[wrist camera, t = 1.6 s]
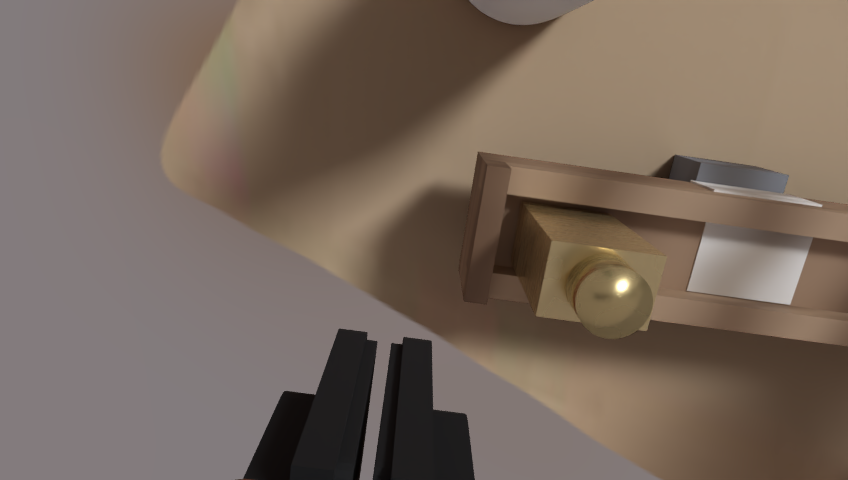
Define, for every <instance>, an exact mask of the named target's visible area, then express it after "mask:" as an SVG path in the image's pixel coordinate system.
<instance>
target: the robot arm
mask: <svg viewBox="0 0 848 480" xmlns="http://www.w3.org/2000/svg"><path fill="white" fill-rule="evenodd" d="M376 348H377V341H372V340H367V332H361V331H353V330H346V329H339V330H338V333H337V335H336V339H335V341H334V344H333V347H332V350H331V353H330V355H329V358H328V361H327V364H326V367H325V370H324V372H323V375H322V378H321V381H320V384H319V387H318V390H317V392H316V395H314V394H305V393H298V392H290V391H284V392H283V394H282V396H281V397H280V400H279V402H278V404H277V406H276V408H275V410H274V413H273V415H272V417H271V419H270V422H269V424H268V426H267V428H266V430H265V432H264V435H263V437H262V439H261V441H260V443H259V446H258V448H257V450H256V452H255V454H254V456H253V458H252V461H251V463H250V465H249V467H248V469H247V472H246V474H245V476H244V478H243V479H238V480H359V478H360V471H361V464H362V456H363V449H364V441H365V434H366V426H367V418H368V411H369V403H370V394H371V388H372V380H373V372H374V364H375V357H376ZM373 480H475V478H474V470H473V462H472V453H471V445H470V436H469V428H468V420H467V415H466V414H463V413H455V412H448V411H439V410H433V386H432V342H431V341H429V340H422V339H415V338H407V337H404V338H403V343H402V344H394V343H392V344H391V351H390V358H389V365H388V373H387V380H386V387H385V394H384V402H383V409H382V417H381V424H380V431H379V438H378V445H377V452H376V460H375V467H374V474H373Z"/></svg>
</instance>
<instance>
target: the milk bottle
mask: <svg viewBox="0 0 848 480" xmlns="http://www.w3.org/2000/svg"><path fill="white" fill-rule="evenodd" d="M469 1H470V2H471V3H472V4H473V5H474V6H475V7H476V8H477V9H478V10H480V11H481V12H482V13H484V14H486V15H487V16H489V17H491V18H493V19H495V20H498V21H501V22H504V23H508V24H514V25H532V24H538V23H542V22H546V21H549V20H552V19H555V18H557V17H559V16H562V15H564V14H566V13H568V12H570V11H573V10H575V9H577V8H579V7H581V6H583V5H585V4H587V3H589V2H591V1H593V0H469Z"/></svg>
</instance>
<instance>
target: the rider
mask: <svg viewBox="0 0 848 480" xmlns="http://www.w3.org/2000/svg"><path fill="white" fill-rule="evenodd" d="M666 259H667V256H666V255H665V254H663V253H662V252H660V251H659V250H658V249H656V248H655V247H654V246H652V245H651V244H650V243H648V242H647V241H646V240H644V239H643V238H642V237H640V236H639V235H638V234H636V233H635V232H633V231H632V230H631V229H629V228H628V227H627V226H625V225H624V224H623V223H621V222H620V221H619V220H617V219H616V218H615V217H613V216H612V215H610V214H609V213H602V212H595V211H588V210H581V209H573V208H566V207H559V206H552V205H545V204H538V203H531V202H524V201H521V206H520V211H519V217H518V222H517V227H516V232H515V237H514V243H513V248H512V253H511V258H510V261H511V263H512V265H513V268H514V270H515V272H516V274H517V276H518V279H519V281H520V283H521V285H522V287H523V290H524V292H525V294H526V296H527V298H528V301H529V303H530V305H531V307H532V309H533V311H534V314H535V316H537V317H544V318H552V319H559V320H567V321H574V322H581V323H582V324H583V326H584V327H585V328H586V329H587V330H588V331H589V332H591V333H592V334H594V335H596V336H598V337H601V338H606V339H618V338H623V337H626V336H629V335H631V334H633V333H634V332H636V331H637V330H642V331H647V329H648V325H649V322H650V318H651V314H652V311H653V307H654V303H655V300H656V296H657V292H658V289H659V285H660V281H661V278H662V274H663V270H664V266H665V263H666Z"/></svg>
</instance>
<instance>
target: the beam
mask: <svg viewBox="0 0 848 480" xmlns="http://www.w3.org/2000/svg"><path fill="white" fill-rule="evenodd" d="M788 177H789V175H786V174H782V173H778V172H774V171H771V170H767V169H763V168H759V167H756V166H750V165H743V164H736V163H729V162H722V161H715V160H708V159H701V158H694V157H687V156H680V155H675V157H674V161H673V165H672V168H671V172H670V176H669V179H665V178H658V177H651V176H644V175H637V174H630V173H623V172H616V171H609V170H602V169H595V168H588V167H581V166H574V165H567V164H560V163H553V162H546V161H539V160H532V159H525V158H518V157H511V156H504V155H497V154H490V153H483V152H478V155H477V161H476V167H475V173H474V179H473V185H472V191H471V197H470V203H469V209H468V215H467V221H466V227H465V233H464V239H463V245H462V251H461V257H460V263H459V274H460V280H461V286H462V292H463V298H464V301H465V302H473V303H480V304H487V300H488V298H492V299H499V300H506V301H514V302H521V303H529V301H528V298H527V296H526V294H525V292H524V290H523V287H522V285H521V283H520V281H519V279H518V276H517V274H516V272H515V270H514V268H513V265H512V263H511V261H510V258H511V253H512V248H513V243H514V237H515V232H516V227H517V222H518V217H519V211H520V206H521V201H524V202H531V203H538V204H545V205H552V206H559V207H566V208H573V209H581V210H588V211H595V212H602V213H609V214H610V215H612V216H613V217H615V218H616V219H617V220H619V221H620V222H621V223H623V224H624V225H625V226H627V227H628V228H629V229H631V230H632V231H633V232H635V233H636V234H638V235H639V236H640V237H642V238H643V239H644V240H646V241H647V242H648V243H650V244H651V245H652V246H654V247H655V248H656V249H658V250H659V251H660V252H662V253H663V254H665V255H666V256H667V259H666V263H665V266H664V270H663V274H662V278H661V281H660V285H659V289H658V292H657V296H656V300H655V303H654V307H653V311H652V314H651V318H650V320H655V321H663V322H670V323H678V324H685V325H692V326H700V327H707V328H715V329H722V330H730V331H737V332H745V333H752V334H759V335H767V336H774V337H782V338H789V339H797V340H804V341H811V342H819V343H826V344H834V345H841V346H848V205H847V204H840V203H833V202H826V201H819V200H812V199H805V198H800V197H796V196H793V195H790V194H784V193H783V192H784V189H785V186H786V183H787V180H788ZM529 304H530V303H529Z"/></svg>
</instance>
